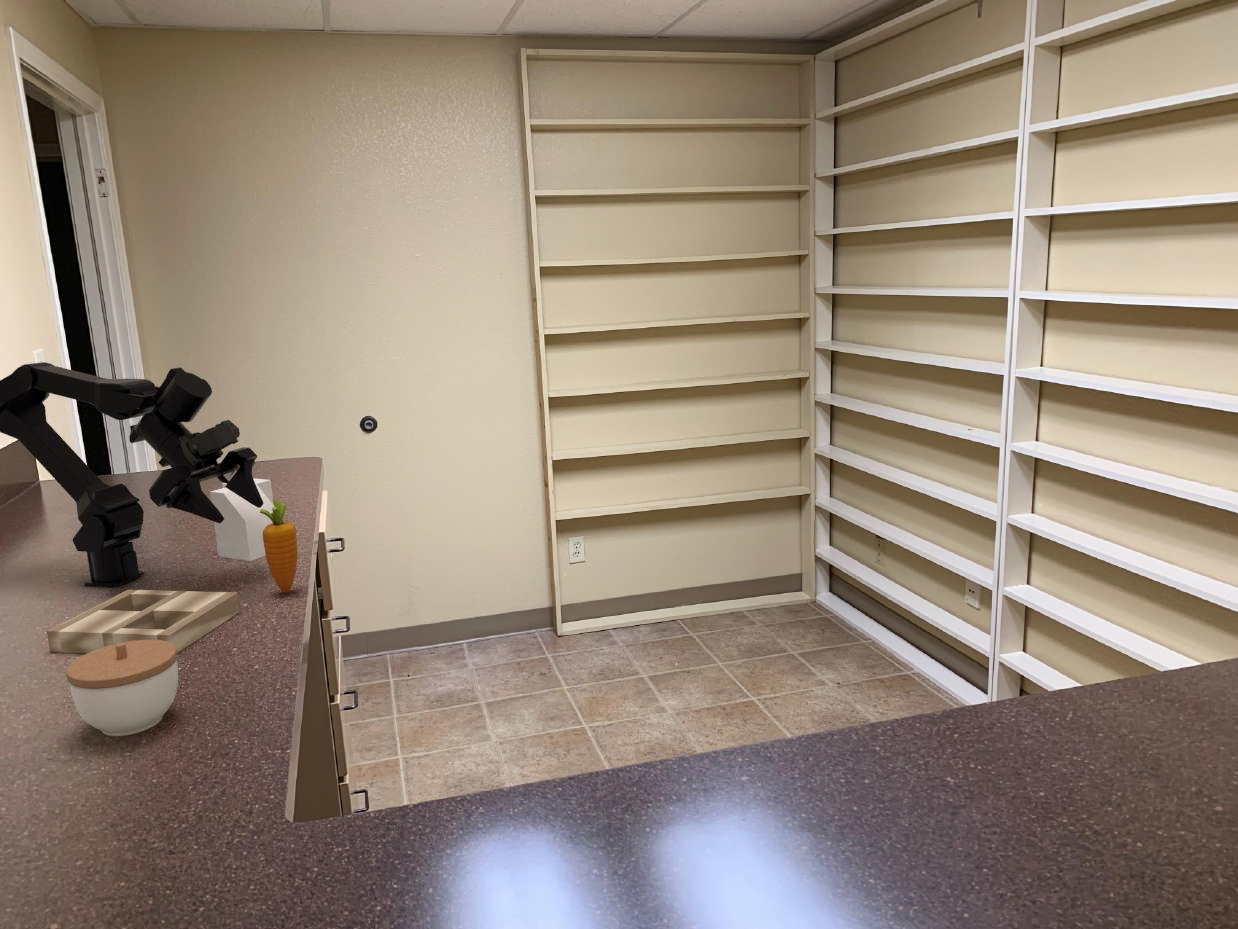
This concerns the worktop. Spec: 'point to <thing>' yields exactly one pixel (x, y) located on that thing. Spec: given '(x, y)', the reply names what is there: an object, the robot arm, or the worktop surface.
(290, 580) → the carrot
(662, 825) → the worktop surface
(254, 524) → the white angular block
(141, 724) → the lidded jar
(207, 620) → the socket board
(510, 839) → the worktop surface
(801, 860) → the worktop surface
